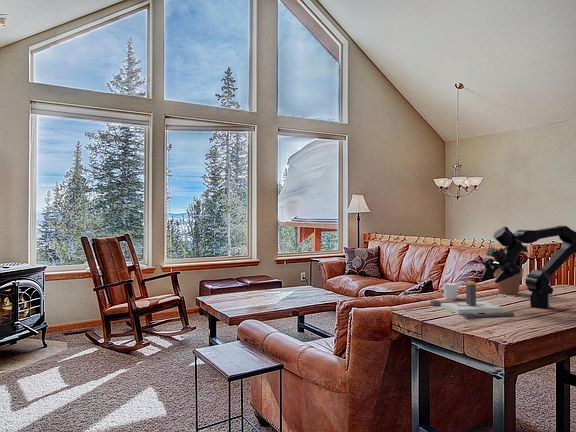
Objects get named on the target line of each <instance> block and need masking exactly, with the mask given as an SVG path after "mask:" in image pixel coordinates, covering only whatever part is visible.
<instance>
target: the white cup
mask: <svg viewBox="0 0 576 432" xmlns="http://www.w3.org/2000/svg"><path fill="white" fill-rule="evenodd" d="M442 287H443V296H444V299H447V300H457V297H458V287H459V284H458V283H454V282H445V283H444V282H443V283H442Z"/></svg>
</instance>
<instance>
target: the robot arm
mask: <svg viewBox="0 0 576 432" xmlns="http://www.w3.org/2000/svg"><path fill="white" fill-rule="evenodd" d="M492 236H493V238H494V239H495V240H496V241H497V242H498V243H499V244H500V245H501V246H502V247H498V248H495V247H488V248H487V252H486V256H489V257H492V258H489V257H484V258H483V260H482V264H483V266H484V269H483V273H482V276H481V280H482V281H485V280H487V279H488V278H489V277H491V276H492V275H494V273H495V272H496V270H498V268H501V272H500V273H499V275H498V276H497V278H495V280H494V282H495V284H497V283H498V282H501V281H503V280H505V279H507V278H510V277H512V276H515V275H518V274H519V273H520V272H521V270H520V268H521V267H520V266H519V267H520V268H519V267H518V266H517V265H516V264H515V263H514V262H517V259H516V258H517V257H518V256H519V254H520V255H521V253H529V250H528V246H527V245H524V244H529V245H531V244H533V243H535V242H538V241H539V240H542V239H546V238H547V239H548V238H552V237H559V240H560V241H562V242H561V247H560V248H559V250H557V252H556V253H555V254H554V255H553V256H552V257H551V258H550V259H549V260H548V261H547V262H546V263H545V264H544V265H543V266H542V267H541V269H539V270H538V269H532V270H531V271H530V272H529V273H528V274H527V275H526V278H525V286H526V287H527V289H528V291H529V292H531V295H530V297H529V299H530V300H529V301H530V302H529V305H530V307H532V308H537V309H539V308H540V309H545V310H546V309H549V308H550V307H551V305H550V295H553V292H554V288H553V287H552V286H551V285H550V283H551V278H552V276H553V275H554V274H555V273H557V271H558V269H560V268H561V267H562V266H563V264H564V263H566V261H568V259H570V257H571V256H572V255H573V254H576V230H573V229H572V228H570V227H569V226H567V225H556V226H551V227H547V228H540V229H534V230H533V229H532V230H531V229H529V230H528V229H518V230H517V231H515V232H514V233H513V232H512V231H511V229H509V228H508V227H507V226H502V227H501V228H499V229H497V230H496V231H495V232H494V233H493V235H492ZM503 247H506V249H505V250H504V248H503Z"/></svg>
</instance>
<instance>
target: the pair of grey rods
mask: <svg viewBox="0 0 576 432" xmlns="http://www.w3.org/2000/svg"><path fill="white" fill-rule="evenodd" d="M452 302H455V303H457V302H466V300H452V301H451V300H450V301H449V300H448V301H440V300H438V299H431V300H430V305H431V306H433V305H439V306H441V303H452ZM498 316H500V317H514V316H515V313H514V312H509V311H508V312H503V313H485V314H473V313H471V312H463V315H462V318H463V317H465V318H464V319H467V318H473V319H475V318H477V319H479V318H497V317H498ZM478 317H479V318H478ZM467 320H468V319H467Z"/></svg>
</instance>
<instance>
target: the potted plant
mask: <svg viewBox="0 0 576 432" xmlns="http://www.w3.org/2000/svg"><path fill="white" fill-rule="evenodd" d="M506 247H507V246H504V248H503V249H504V250H505V249H506ZM516 259H517V262H514V263H515V264H516V265H517V266H518V267H519V268H520V270H521V272H520V273H519V274H518V275H515V276H512V277H510V278H507V279H505V280H503V281H501V282H498V283H496V286H497V291H498V293H499V294H502V295H508V296H509V294H515V295H518V294H519V290H520V285H521V280H522V279H523V277H524V276H523V275H524V268H523V267H520V265H521V253H520V254H519V256H518V257H517V258H516ZM500 272H501V268H498V270H496V272H495V273H494V274H493V277H494V278H495V279H496V278H497V276H498V275H499V273H500Z"/></svg>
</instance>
